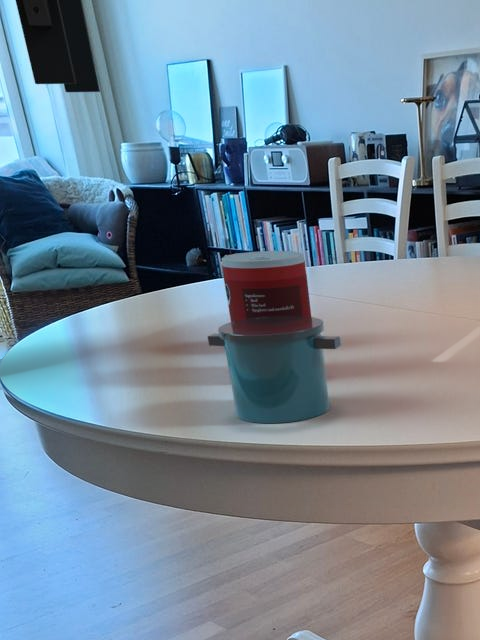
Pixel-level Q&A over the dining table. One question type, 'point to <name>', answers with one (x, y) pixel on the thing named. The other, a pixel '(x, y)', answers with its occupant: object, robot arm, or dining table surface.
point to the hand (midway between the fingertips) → (70, 88)
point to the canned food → (266, 284)
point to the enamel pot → (276, 367)
